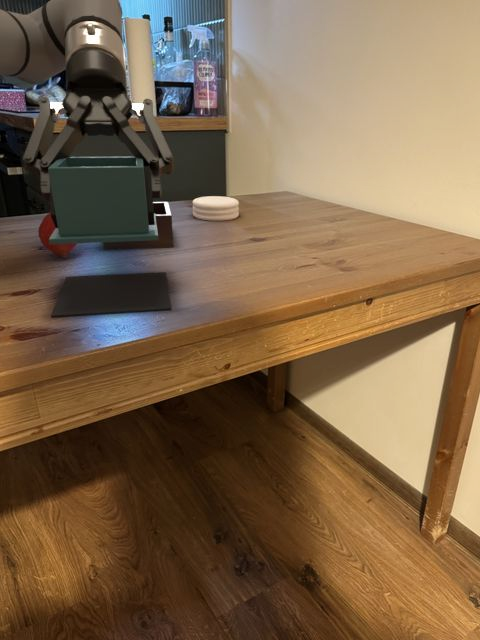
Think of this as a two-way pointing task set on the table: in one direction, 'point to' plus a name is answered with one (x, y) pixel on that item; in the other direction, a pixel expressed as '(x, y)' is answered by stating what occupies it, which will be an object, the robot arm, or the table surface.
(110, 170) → the box
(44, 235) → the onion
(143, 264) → the table surface
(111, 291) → the mat
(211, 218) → the white short cylinder
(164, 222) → the box
